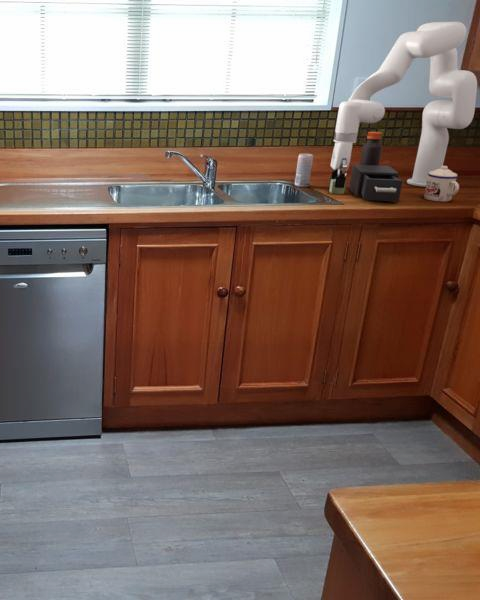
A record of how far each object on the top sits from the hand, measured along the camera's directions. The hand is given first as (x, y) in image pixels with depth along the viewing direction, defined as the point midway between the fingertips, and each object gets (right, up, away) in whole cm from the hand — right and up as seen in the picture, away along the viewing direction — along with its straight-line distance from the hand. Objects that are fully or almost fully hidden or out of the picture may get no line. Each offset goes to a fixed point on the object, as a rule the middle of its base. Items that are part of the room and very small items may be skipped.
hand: (336, 185), depth 224 cm
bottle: (+17, +2, +14) cm, 22 cm away
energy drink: (-9, +2, +12) cm, 15 cm away
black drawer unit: (+10, -7, -11) cm, 16 cm away
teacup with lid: (+32, -7, -10) cm, 35 cm away
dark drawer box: (+12, -3, 0) cm, 13 cm away
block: (0, -3, +1) cm, 3 cm away
